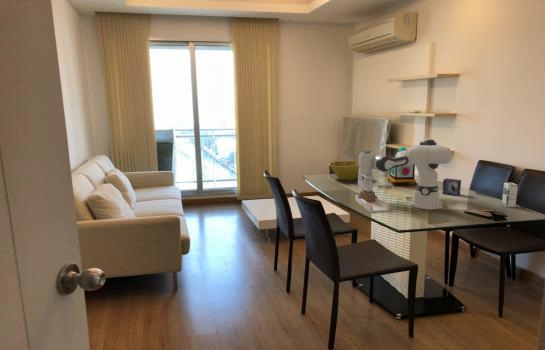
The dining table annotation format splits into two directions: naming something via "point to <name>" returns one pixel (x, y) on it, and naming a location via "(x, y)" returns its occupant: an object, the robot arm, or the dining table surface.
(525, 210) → the dining table surface
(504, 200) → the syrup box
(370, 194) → the walnut block
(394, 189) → the dining table surface
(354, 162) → the planter bowl
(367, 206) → the grey chute
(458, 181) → the small box
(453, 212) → the dining table surface
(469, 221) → the dining table surface
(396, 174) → the decorative lantern
